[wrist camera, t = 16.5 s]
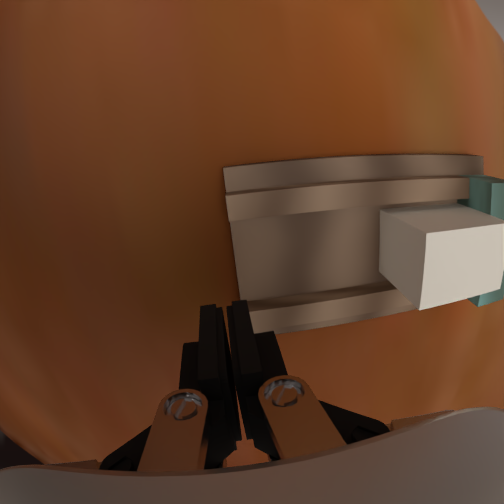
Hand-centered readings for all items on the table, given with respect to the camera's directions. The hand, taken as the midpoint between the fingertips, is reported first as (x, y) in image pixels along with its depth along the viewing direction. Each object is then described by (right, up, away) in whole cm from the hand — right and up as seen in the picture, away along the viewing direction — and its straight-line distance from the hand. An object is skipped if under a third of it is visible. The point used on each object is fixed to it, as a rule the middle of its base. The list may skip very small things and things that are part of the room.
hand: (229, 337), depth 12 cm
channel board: (+10, +4, +11) cm, 15 cm away
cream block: (+13, +4, +10) cm, 17 cm away
